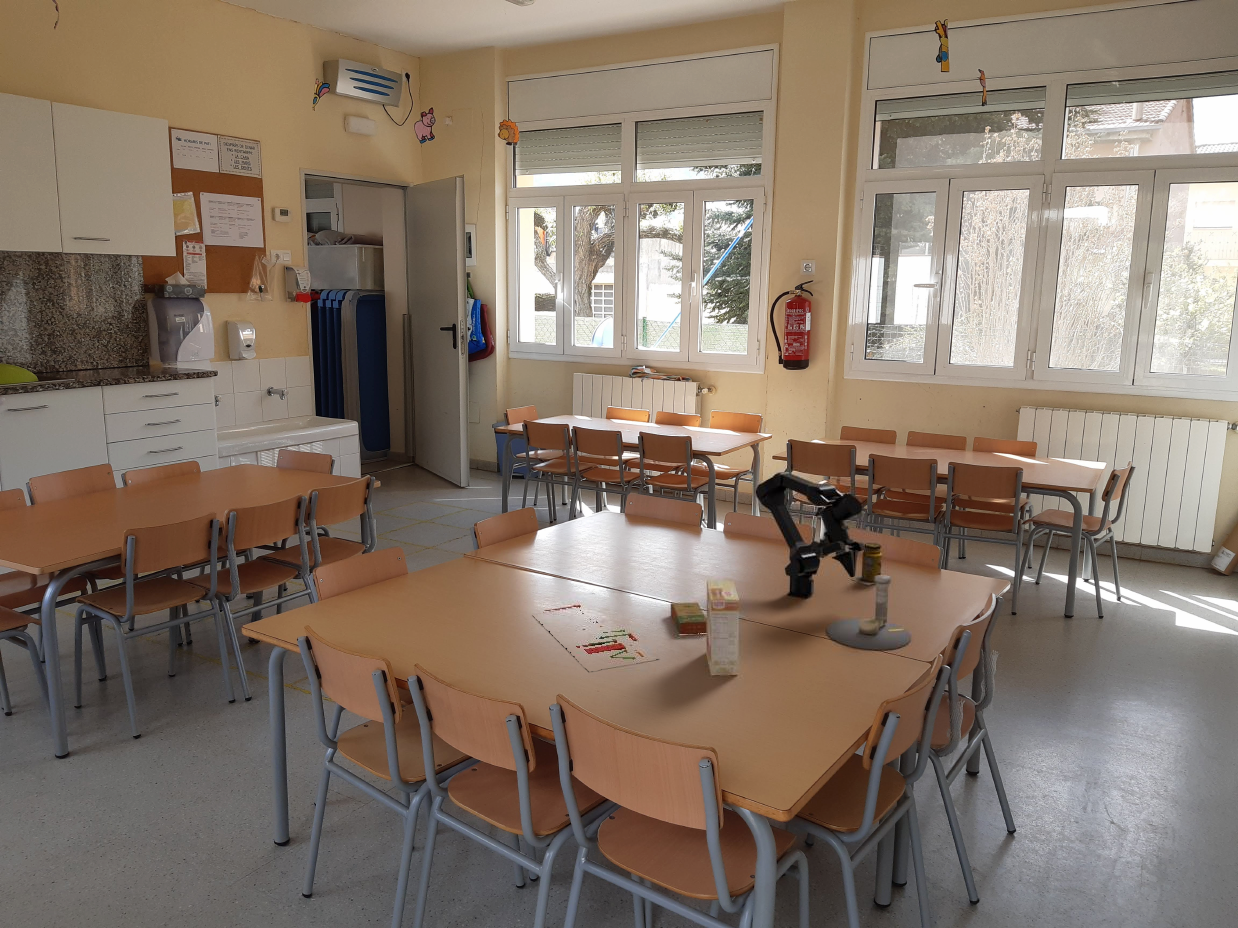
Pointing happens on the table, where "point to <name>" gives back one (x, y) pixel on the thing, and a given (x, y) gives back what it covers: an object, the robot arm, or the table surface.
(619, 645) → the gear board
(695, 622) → the carton
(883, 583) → the crank handle
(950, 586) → the table surface
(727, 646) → the coffeecake box
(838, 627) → the dial plate
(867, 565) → the condiment
